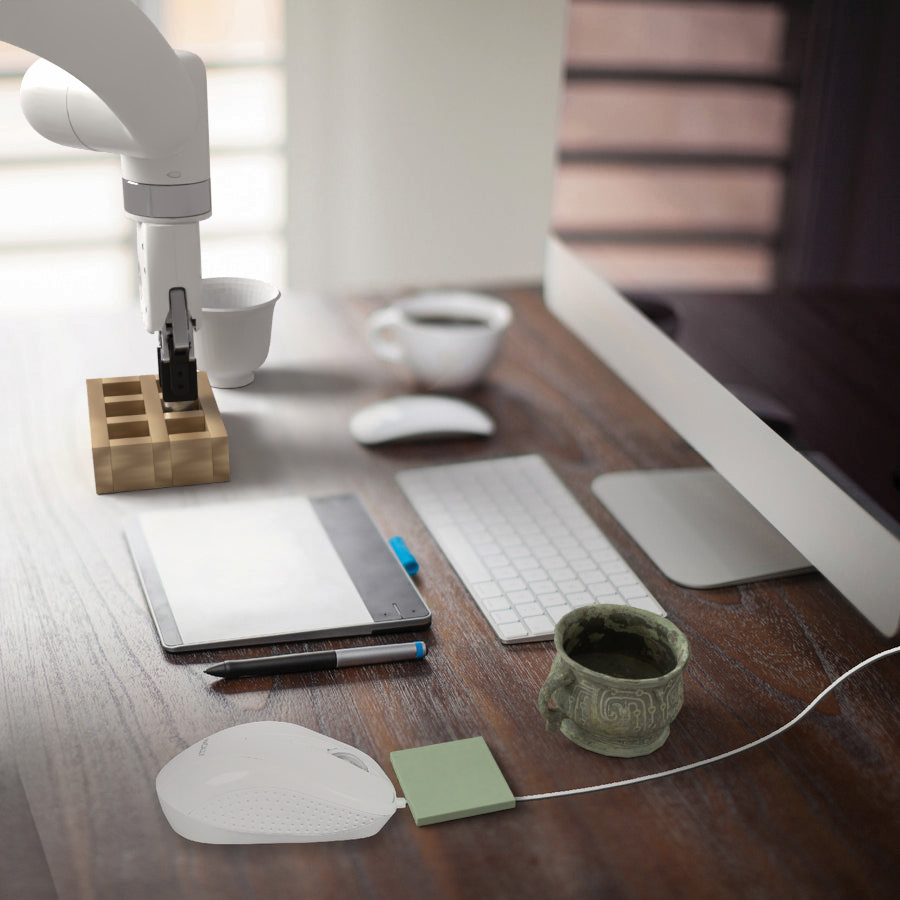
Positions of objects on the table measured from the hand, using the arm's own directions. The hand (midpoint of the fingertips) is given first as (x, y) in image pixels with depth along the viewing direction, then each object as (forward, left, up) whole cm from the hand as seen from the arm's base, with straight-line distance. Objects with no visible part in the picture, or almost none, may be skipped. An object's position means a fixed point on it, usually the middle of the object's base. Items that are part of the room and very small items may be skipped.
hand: (178, 391), depth 107 cm
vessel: (+23, -49, -6) cm, 54 cm away
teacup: (+6, +18, -6) cm, 20 cm away
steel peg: (0, 0, -6) cm, 6 cm away
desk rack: (-2, 0, -6) cm, 6 cm away
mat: (+11, -52, -6) cm, 53 cm away
